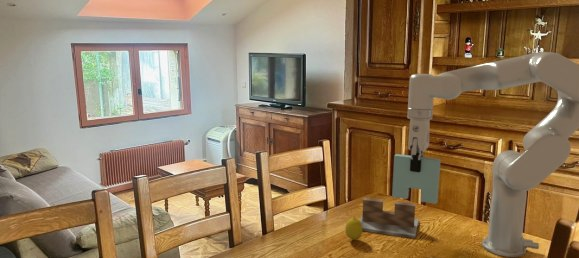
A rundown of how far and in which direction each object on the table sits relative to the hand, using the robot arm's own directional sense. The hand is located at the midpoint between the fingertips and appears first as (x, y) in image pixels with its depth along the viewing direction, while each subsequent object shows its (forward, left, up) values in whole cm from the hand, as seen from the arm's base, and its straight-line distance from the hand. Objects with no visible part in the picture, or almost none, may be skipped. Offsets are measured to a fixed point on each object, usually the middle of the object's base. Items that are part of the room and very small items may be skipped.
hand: (416, 169), depth 138 cm
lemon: (+18, +7, -24) cm, 31 cm away
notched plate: (0, 0, -10) cm, 10 cm away
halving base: (+9, -9, -24) cm, 28 cm away
